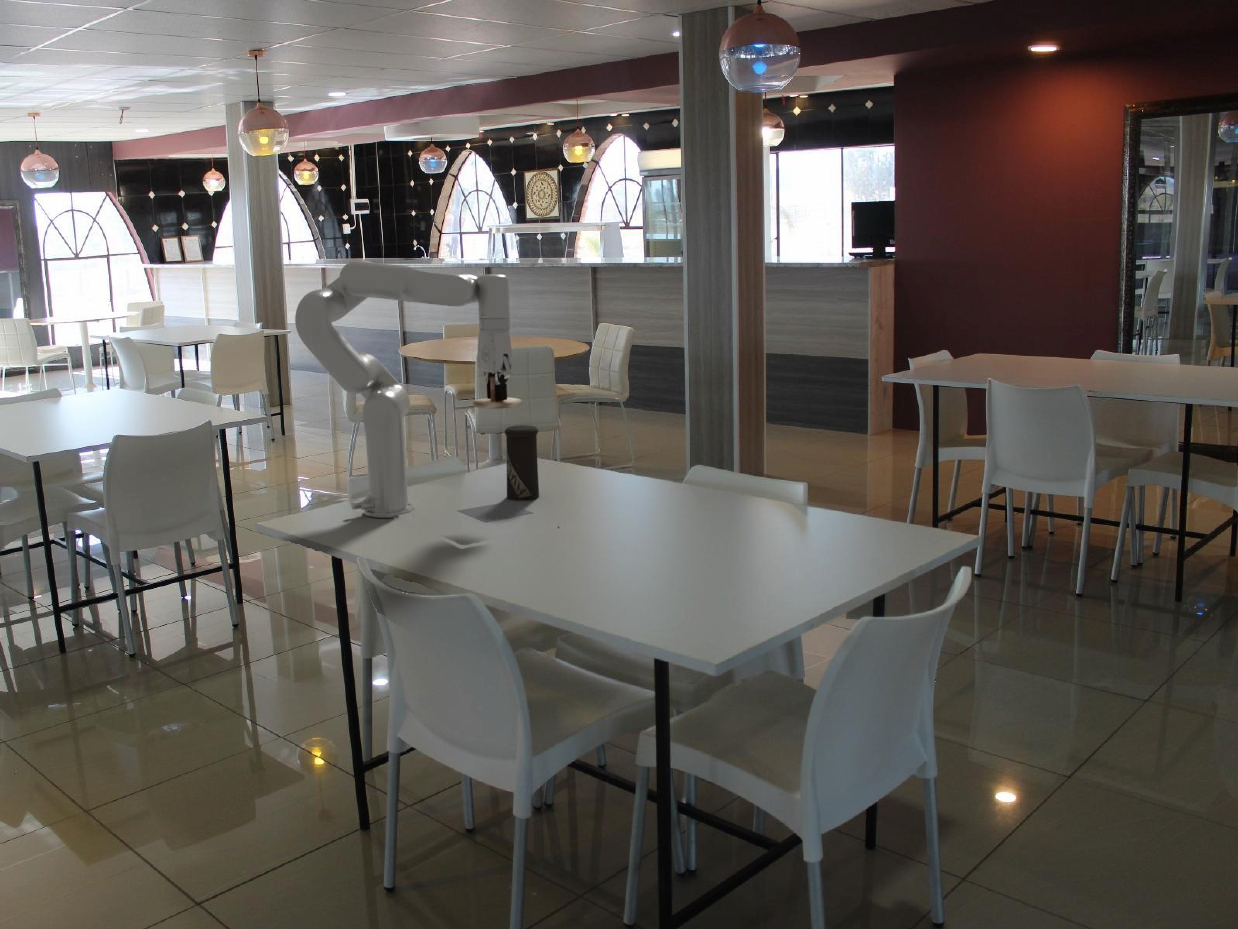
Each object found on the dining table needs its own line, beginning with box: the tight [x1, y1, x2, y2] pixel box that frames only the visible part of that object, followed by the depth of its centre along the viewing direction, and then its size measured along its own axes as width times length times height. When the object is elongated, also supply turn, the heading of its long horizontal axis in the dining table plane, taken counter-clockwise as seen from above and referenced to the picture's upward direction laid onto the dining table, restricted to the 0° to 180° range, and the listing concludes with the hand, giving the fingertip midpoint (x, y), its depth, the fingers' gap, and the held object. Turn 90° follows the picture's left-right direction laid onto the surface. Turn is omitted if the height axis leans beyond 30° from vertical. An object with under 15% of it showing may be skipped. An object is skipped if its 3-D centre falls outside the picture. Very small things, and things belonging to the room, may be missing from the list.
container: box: [504, 424, 540, 502], centre depth 292 cm, size 9×9×20 cm
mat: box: [457, 501, 534, 523], centre depth 279 cm, size 14×14×1 cm
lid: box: [472, 375, 522, 410], centre depth 275 cm, size 12×12×7 cm
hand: (497, 398), depth 275 cm, fingers closed on lid, 3 cm apart
